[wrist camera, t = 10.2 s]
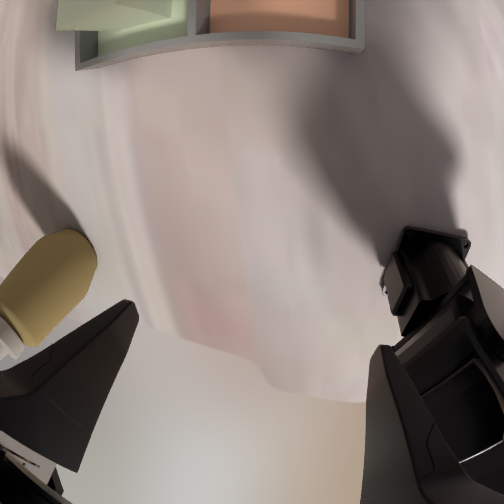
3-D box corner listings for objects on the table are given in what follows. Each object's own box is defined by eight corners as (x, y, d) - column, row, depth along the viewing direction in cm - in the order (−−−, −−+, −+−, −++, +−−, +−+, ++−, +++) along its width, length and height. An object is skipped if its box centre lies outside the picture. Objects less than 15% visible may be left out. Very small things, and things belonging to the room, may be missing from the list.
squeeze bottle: (50, 212, 25) (-60, 319, 10) (100, 228, 24) (-23, 368, 10) (64, 267, 30) (-20, 370, 15) (111, 287, 29) (26, 413, 15)
